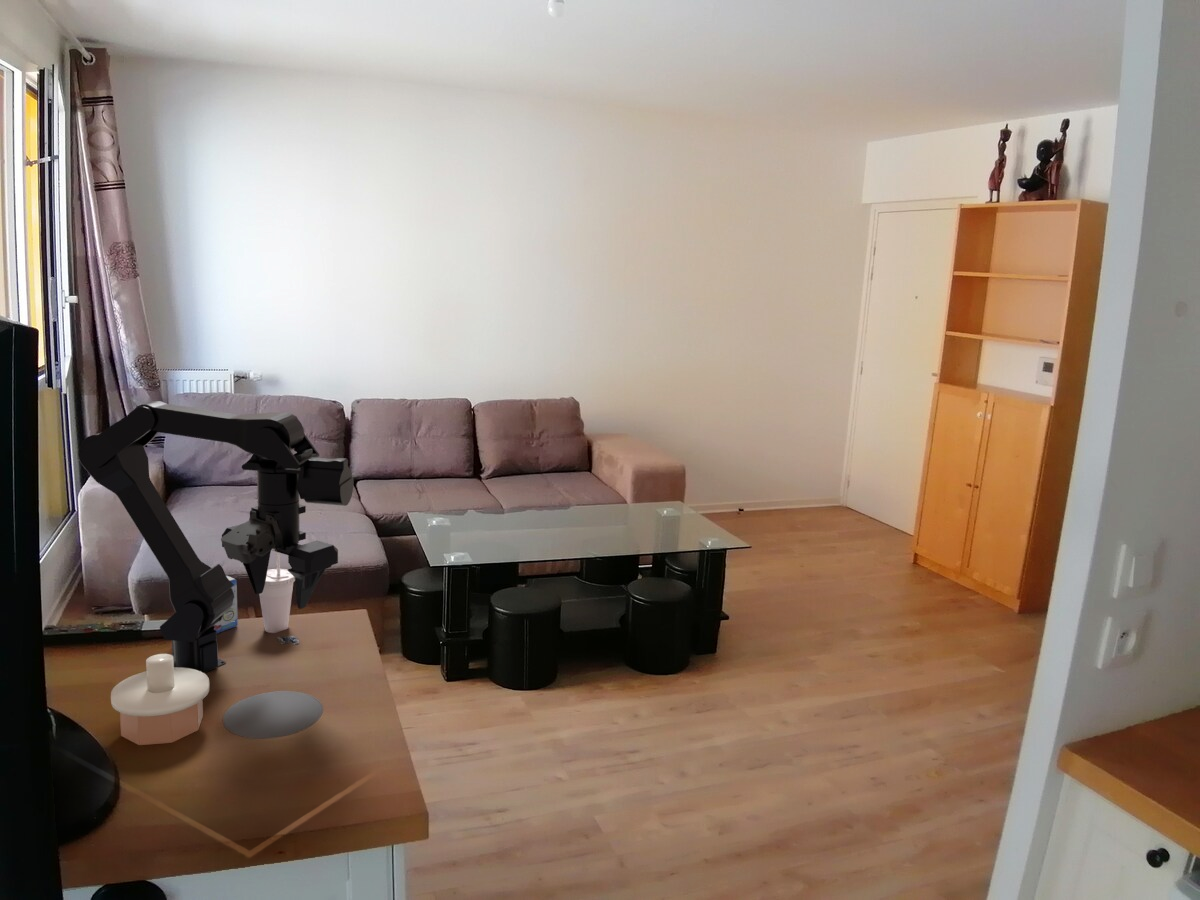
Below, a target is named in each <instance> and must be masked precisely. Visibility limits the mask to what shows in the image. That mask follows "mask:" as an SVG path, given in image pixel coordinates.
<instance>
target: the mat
mask: <svg viewBox="0 0 1200 900" xmlns="http://www.w3.org/2000/svg"><path fill="white" fill-rule="evenodd" d="M323 711H324V707H323V704H322V703H321V701H320V700H319V699H318V698H316V697H315V696H314V695H311V694H309V693H306V692H300V691H293V690H277V691H268V692H263V693H258V694H254V695H250V696H247V697H245V698H243V699H241V700H239V701H237V702H236V703H234V704H232V705H231V706H230V707H229V708H228V709H227V710H226V711H225V713H224V714H223V717H222V724H223V726H224V728H225V729H226V730H228V731H229V732H231V733H232V734H234V735H236V736H240V737H244V738H249V739H273V738H281V737H286V736H289V735H293V734H297V733H298V732H301V731H304V730H306V729H307V728H309V727H311V726H312V725H314V724H315V723H316V722H317V721H318V720H319V719H320V718H321V717H322V715H323Z"/></svg>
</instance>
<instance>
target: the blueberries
mask: <svg viewBox="0 0 1200 900" xmlns="http://www.w3.org/2000/svg"><path fill="white" fill-rule="evenodd" d="M274 639H276V640H277V642H280V643H281V644H282V645H285V644H291V643H292V644H294V645H295V646H298V645H299V644H300V640H299V637H297V636H294V635H286V636H283V637H280V636H276V637H274Z"/></svg>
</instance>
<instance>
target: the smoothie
mask: <svg viewBox="0 0 1200 900" xmlns="http://www.w3.org/2000/svg"><path fill="white" fill-rule="evenodd" d="M275 554H276V568H272V569H268V570H267V576H266V581H265V586H264V589H263V592H262V593H261V594H258V595H259V601H260V602H259V603H260V608H261V614H262V620H263V625H264V631H265V632H266V633H269V634H277V633H280V632H282V631H285V630H287V629H289V622H290V621H289V620H290V613H291V605H292V596H293V590H294V589H293V587H294V582H295V577H294V576H293V575H292V574H291V573H290V572H289V571H288V569H286V568H281V553H279V552H276V551H275Z"/></svg>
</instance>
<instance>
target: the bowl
mask: <svg viewBox="0 0 1200 900" xmlns="http://www.w3.org/2000/svg"><path fill="white" fill-rule="evenodd" d="M203 700H204V699H202V700H201V701H200V702H198V703H197V704H195V705H193V706H191V707H189V708H186V709H184V710H181V711H177V712H174V713H170V714H165V715H158V716H132V715H126V714H123V713H120V712H119V724H120V726H119V727H120V737H123V738H124V739H126V740H128V741H130V742H131V743H134V744H136V745H138V746H145V745H159V744H169V743H171V744H173V743H174V742H177V741H178V740H180V739H183V738H184V737H186V736H189V735H190V734H193V733H194V732H195V733H196V732H198V731H199V728H200V725H201V724H202V720H203V717H204V709H203V708H204V706H203V705H204V703H203Z"/></svg>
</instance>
